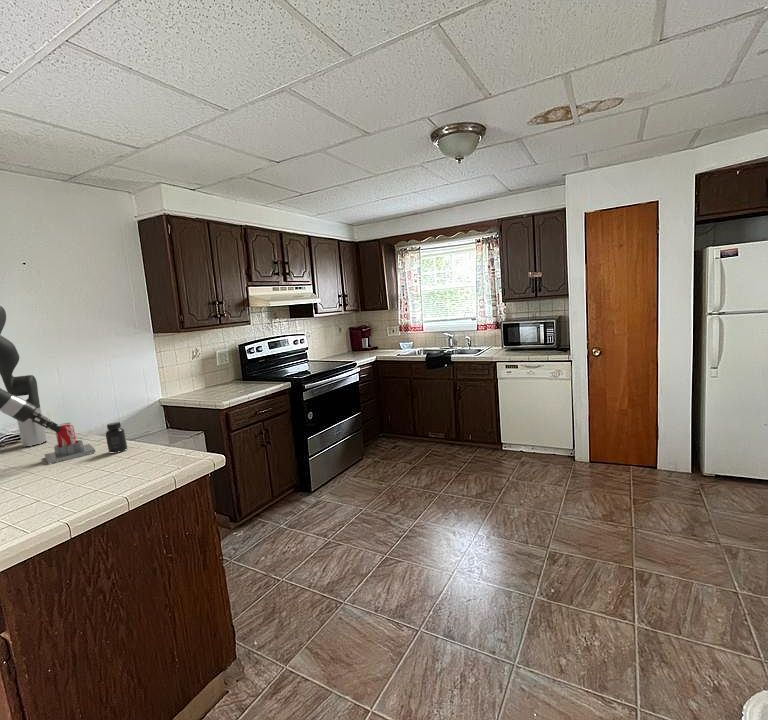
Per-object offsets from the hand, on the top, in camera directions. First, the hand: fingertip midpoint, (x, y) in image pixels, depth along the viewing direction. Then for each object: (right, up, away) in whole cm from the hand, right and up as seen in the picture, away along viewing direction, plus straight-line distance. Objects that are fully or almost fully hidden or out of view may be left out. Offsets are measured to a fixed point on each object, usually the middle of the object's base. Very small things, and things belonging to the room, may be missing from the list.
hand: (59, 429), depth 180 cm
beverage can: (+2, -10, +3) cm, 11 cm away
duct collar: (+3, -11, +3) cm, 12 cm away
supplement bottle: (+23, -10, +3) cm, 25 cm away
